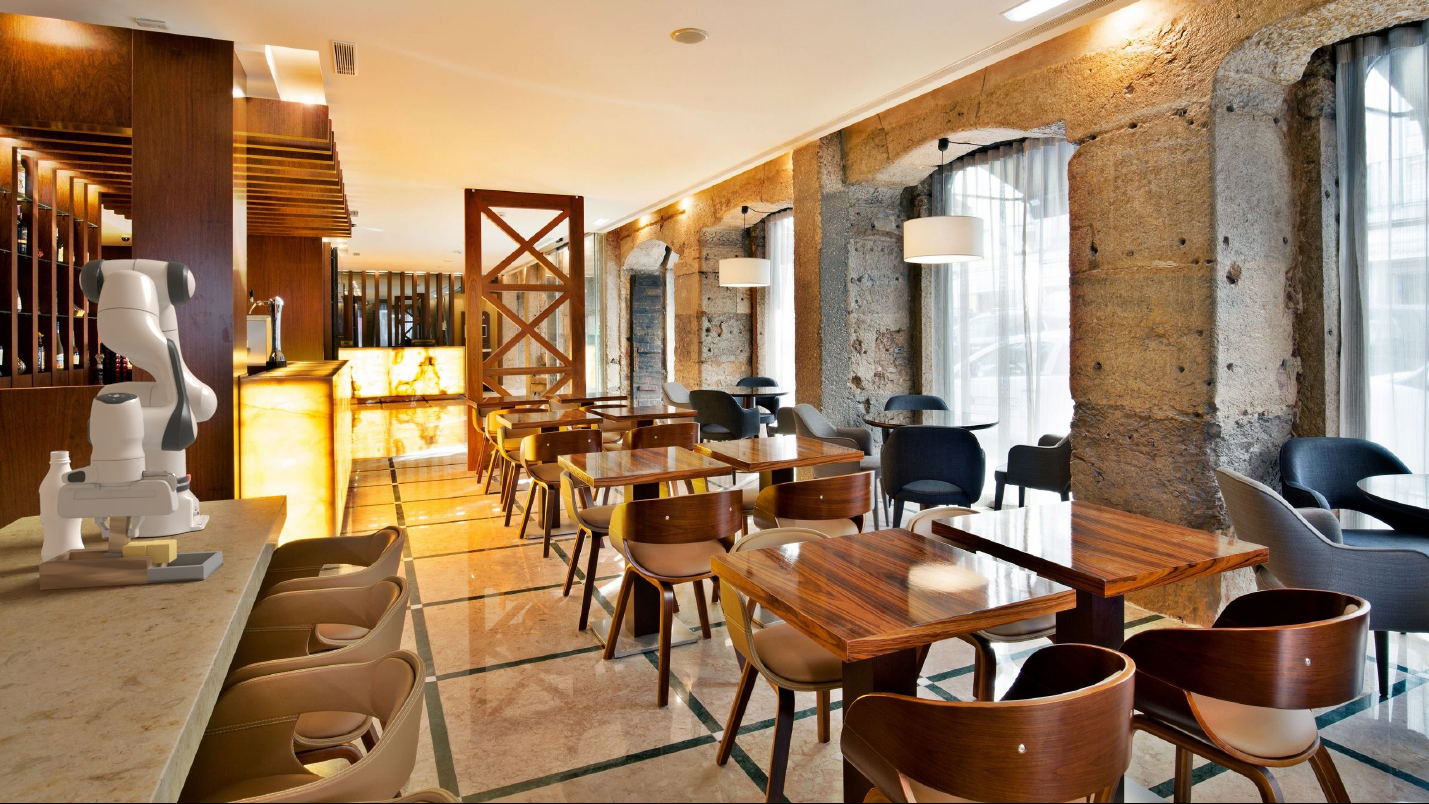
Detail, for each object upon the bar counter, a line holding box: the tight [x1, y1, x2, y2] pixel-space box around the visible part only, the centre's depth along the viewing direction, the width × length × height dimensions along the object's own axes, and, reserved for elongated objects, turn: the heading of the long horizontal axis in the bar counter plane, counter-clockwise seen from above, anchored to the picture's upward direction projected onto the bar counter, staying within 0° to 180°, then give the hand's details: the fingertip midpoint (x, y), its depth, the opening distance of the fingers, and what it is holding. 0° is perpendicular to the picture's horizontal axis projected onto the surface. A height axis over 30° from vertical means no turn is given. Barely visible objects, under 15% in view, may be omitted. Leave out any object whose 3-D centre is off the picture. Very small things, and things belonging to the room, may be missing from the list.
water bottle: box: [38, 450, 85, 563], centre depth 165 cm, size 7×7×25 cm
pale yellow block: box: [123, 540, 154, 558], centre depth 158 cm, size 4×4×4 cm
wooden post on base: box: [103, 516, 132, 559], centre depth 157 cm, size 6×3×10 cm, turn 17°
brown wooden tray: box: [38, 547, 169, 591], centre depth 157 cm, size 12×18×5 cm, turn 107°
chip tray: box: [146, 550, 224, 584], centre depth 161 cm, size 12×10×3 cm
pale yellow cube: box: [147, 539, 178, 564], centre depth 160 cm, size 4×4×4 cm
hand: (120, 537), depth 157 cm, fingers closed on wooden post on base, 3 cm apart
